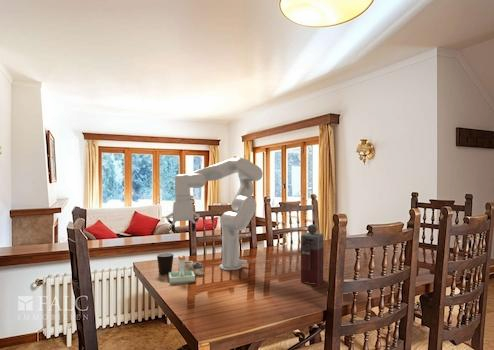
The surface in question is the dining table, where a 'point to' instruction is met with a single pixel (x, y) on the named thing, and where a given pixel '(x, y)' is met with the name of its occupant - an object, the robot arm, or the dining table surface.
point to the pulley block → (194, 267)
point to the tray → (176, 279)
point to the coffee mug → (165, 263)
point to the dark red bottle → (312, 256)
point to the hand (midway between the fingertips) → (183, 231)
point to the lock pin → (181, 265)
